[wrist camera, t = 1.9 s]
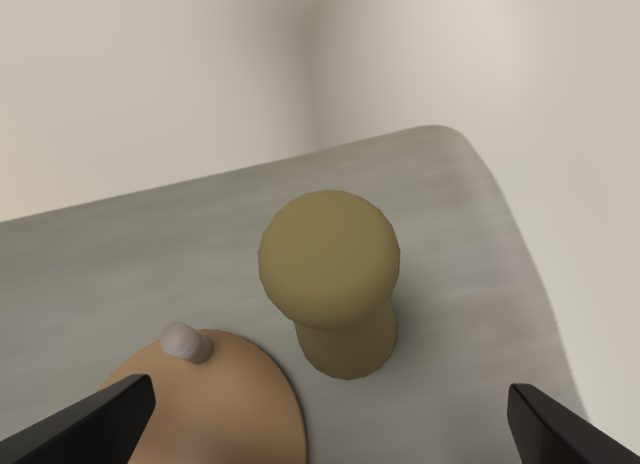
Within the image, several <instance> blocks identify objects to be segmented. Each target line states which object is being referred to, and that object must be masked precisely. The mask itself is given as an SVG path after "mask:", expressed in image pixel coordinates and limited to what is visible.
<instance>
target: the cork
mask: <svg viewBox="0 0 640 464" xmlns="http://www.w3.org/2000/svg"><path fill="white" fill-rule="evenodd" d="M258 263H259V276H260V280H261V282H262V284H263V287H264V289H265V291H266V294H267V296H268V298H269V299H270V300H271V301H272V303H273V304H274V305H275V306H276V307H277V308H278V309H279V310H280V311H281V312H282V313H283V314H284V315H285V316H286V317H287V318H289V319H291V320H293V321H294V325H295V329H296V333H297V337H298V341H299V344H300V346H301V348H302V351H303V353H304V355H305V357H306V358H307V359H308V360H309V362H310V363H311V364H312V365H313V366H314V367H315V368H316V369H317V370H319V371H321V372H323V373H324V374H326V375H328V376H330V377H333V378H339V379H345V380H350V379H356V378H361V377H365V376H367V375H369V374H370V373H372V372H374V371H376V370H377V369H379V368H380V367H381V366H382V365H383V364H384V362H385V361H386V360H387V359H388V358H389V357H390V355H391V352H392V350H393V347H394V345H395V342H396V336H397V322H396V318H395V315H394V311H393V307H392V304H391V300H390V296H391V293H392V291H393V289H394V286H395V284H396V282H397V280H398V275H399V266H400V248H399V245H398V242H397V239H396V235H395V232H394V230H393V227H392V225H391V224H390V222H389V221H388V220H387V218H386V217H385V216H384V214H383V213H382V212H381V210H380V209H378V208H377V207H375V206H374V205H372V204H371V203H369V202H368V201H367V200H365V199H363V198H361V197H359V196H356V195H353V194H350V193H347V192H344V191H332V190H323V191H318V192H313V193H308V194H305V195H303V196H301V197H299V198H297V199H295V200H293V201H290V202H289V203H288V204H287V205H286V206H284V207H283V208H282V209H281V210H280V211H279V212H277V213H276V215H275V216H274V218H273V219H272V221H271V222H270V224H269V225H268V227H267V228H266V230H265V231H264V233H263V236H262V239H261V243H260V246H259V250H258Z"/></svg>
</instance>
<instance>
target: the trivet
mask: <svg viewBox="0 0 640 464" xmlns="http://www.w3.org/2000/svg"><path fill="white" fill-rule="evenodd" d="M132 374H148V375H149V376H150V377H151V380H152V384H153V388H154V393H155V397H156V406H155V409H154V412H153V414H152V416H151V418H150V420H149V422H148V424H147V426H146V428H145V430H144V432H143V434H142V436H141V438H140V440H139V442H138V444H137V446H136V448H135V450H134V452H133V454H132V456H131V458H130V460H129V462H128V464H307V441H306V432H305V424H304V420H303V416H302V412H301V408H300V405H299V402H298V399H297V397H296V394H295V392H294V390H293V388H292V386H291V384H290V382H289V380H288V378H287V377H286V375H285V374H284V373H283V371H282V370H281V368H280V367H279V366H278V365H277V364H276V363H275V362H274V360H273V359H272V358H271V357H270V356H269V355H267V354H266V353H265V352H264V351H262V350H261V349H260V348H258V347H257V346H256V345H254V344H253V343H251V342H249V341H247V340H246V339H244V338H242V337H239V336H237V335H234V334H232V333H228V332H223V331H219V330H207V329H203V330H195V329H193V328H191V327H190V326H188V325H186V324H185V323H182V322H175V323H172V324H170V325H169V326H168V327H167V328H166V329H165V330H164V331H163V333H162V335H161V337H160V340H158V341H156V342H154V343H152V344H150V345H148V346H147V347H145V348H143V349H142V350H140V351H138V352H137V353H136V354H134V355H133V356H132V357H131V358H129V359H128V360H127V361H125V362H124V363H123V364H122V365H121V366H120V367H119V368H118V369H117V370H116V371H114V372H113V373H112V375H111V376H110V377H109V378H108V379H107V380H106V381H105V382H104V383H103V384H102V386H101V387H100V388H99V390H98V391H100V390H102V389H104V388H106V387H108V386H110V385H112V384H114V383H116V382H118V381H120V380H122V379H124V378H126V377H128V376H130V375H132ZM98 391H97V392H98Z"/></svg>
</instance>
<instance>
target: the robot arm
mask: <svg viewBox="0 0 640 464" xmlns="http://www.w3.org/2000/svg"><path fill="white" fill-rule="evenodd" d="M155 406H156V397H155V393H154V388H153V384H152V380H151V377H150V376H149V375H148V374H132V375H130V376H128V377H126V378H124V379H122V380H120V381H118V382H116V383H114V384H112V385H110V386H108V387H106V388H104V389H102V390H100V391H98V392H96V393H94V394H93V395H91V396H89V397H87V398H85V399H83V400H81V401H79V402H77V403H75V404H73V405H71V406H69V407H67V408H65V409H63V410H61V411H59V412H57V413H55V414H53V415H51V416H49V417H48V418H46V419H44V420H42V421H40V422H38V423H36V424H34V425H32V426H30V427H28V428H26V429H24V430H22V431H20V432H18V433H16V434H14V435H12V436H10V437H8V438H6V439H4V440H3V441H1V442H0V464H128V462H129V460H130V458H131V456H132V454H133V452H134V450H135V448H136V446H137V444H138V442H139V440H140V438H141V436H142V434H143V432H144V430H145V428H146V426H147V424H148V422H149V420H150V418H151V416H152V414H153V412H154V409H155ZM507 418H508V423H509V426H510V429H511V432H512V435H513V438H514V441H515V443H516V446H517V449H518V452H519V455H520V458H521V461H522V463H523V464H640V457H639V456H638V455H636V454H635V453H633V452H632V451H630V450H629V449H627V448H626V447H624V446H623V445H621V444H620V443H618V442H617V441H615V440H614V439H612V438H611V437H609V436H608V435H606V434H605V433H603V432H602V431H600V430H599V429H597V428H596V427H594V426H593V425H591V424H590V423H588V422H587V421H585V420H584V419H582V418H581V417H579V416H578V415H576V414H575V413H573V412H572V411H570V410H569V409H567V408H566V407H564V406H563V405H561V404H560V403H558V402H557V401H555V400H554V399H552V398H551V397H549V396H548V395H546V394H545V393H543V392H542V391H540V390H539V389H537V388H536V387H534V386H533V385H531V384H523V383H513V384H511V385H510V387H509V395H508V407H507Z"/></svg>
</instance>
